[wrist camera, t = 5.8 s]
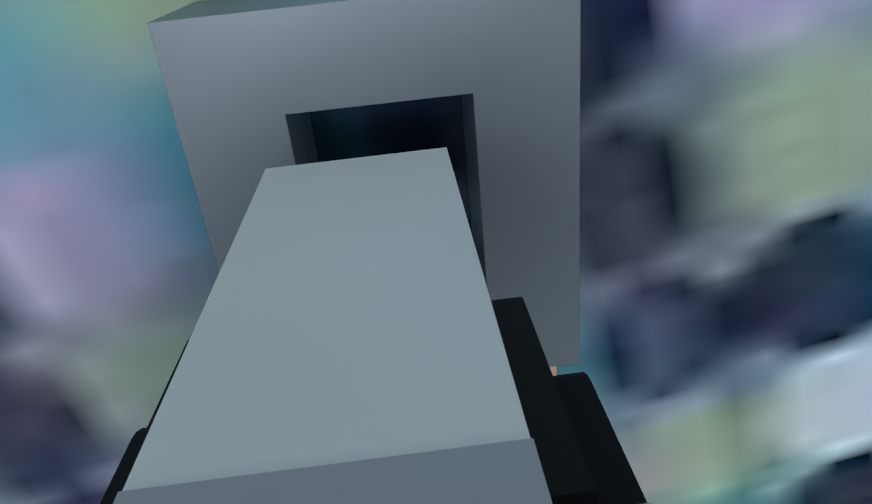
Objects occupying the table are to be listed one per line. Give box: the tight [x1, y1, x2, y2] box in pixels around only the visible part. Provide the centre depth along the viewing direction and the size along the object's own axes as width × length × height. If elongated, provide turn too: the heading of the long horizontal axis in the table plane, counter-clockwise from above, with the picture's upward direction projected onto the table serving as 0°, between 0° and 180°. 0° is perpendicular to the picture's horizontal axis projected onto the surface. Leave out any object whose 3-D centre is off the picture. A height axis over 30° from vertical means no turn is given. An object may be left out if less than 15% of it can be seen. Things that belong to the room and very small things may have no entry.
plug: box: [113, 147, 552, 504], centre depth 10 cm, size 5×4×9 cm
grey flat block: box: [148, 0, 580, 367], centre depth 17 cm, size 10×9×4 cm
